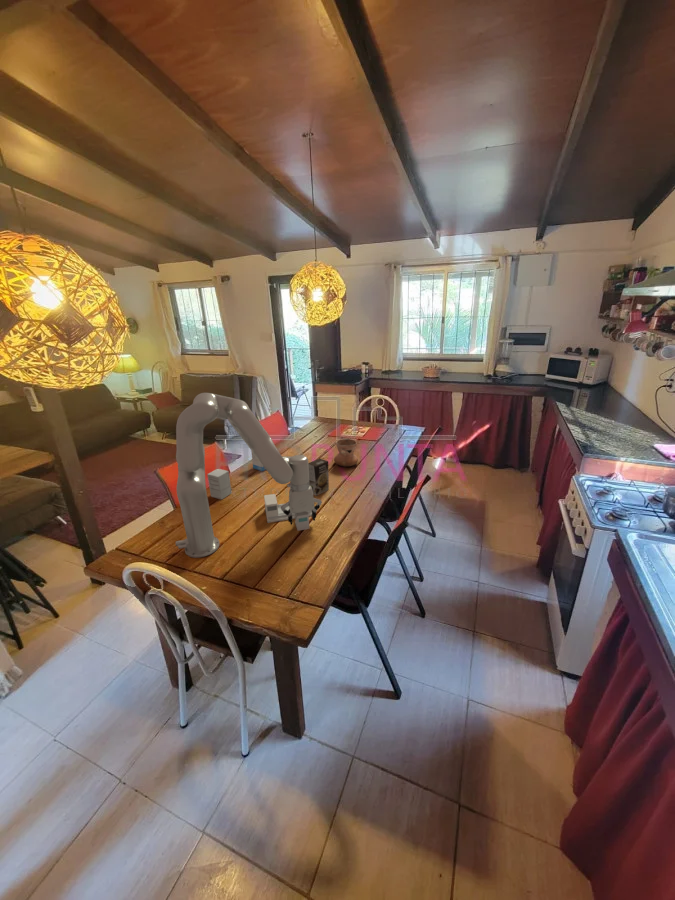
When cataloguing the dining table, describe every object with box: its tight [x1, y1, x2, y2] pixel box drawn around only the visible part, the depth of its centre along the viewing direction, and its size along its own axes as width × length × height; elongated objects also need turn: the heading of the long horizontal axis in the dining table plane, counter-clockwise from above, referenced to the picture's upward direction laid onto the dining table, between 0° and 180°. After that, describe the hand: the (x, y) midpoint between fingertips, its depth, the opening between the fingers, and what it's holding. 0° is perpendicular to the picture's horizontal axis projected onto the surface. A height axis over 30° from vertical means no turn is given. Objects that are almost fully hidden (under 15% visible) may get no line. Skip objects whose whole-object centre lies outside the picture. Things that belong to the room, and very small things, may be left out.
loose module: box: [294, 511, 310, 532], centre depth 146 cm, size 5×5×7 cm
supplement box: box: [206, 468, 232, 500], centre depth 171 cm, size 7×7×13 cm
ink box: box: [250, 449, 267, 472], centre depth 202 cm, size 9×8×13 cm
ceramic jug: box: [333, 438, 359, 467], centre depth 206 cm, size 18×14×14 cm
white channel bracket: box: [263, 493, 312, 524], centre depth 156 cm, size 20×12×8 cm, turn 106°
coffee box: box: [308, 458, 330, 496], centre depth 174 cm, size 9×6×16 cm
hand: (302, 520), depth 146 cm, fingers open, 9 cm apart
